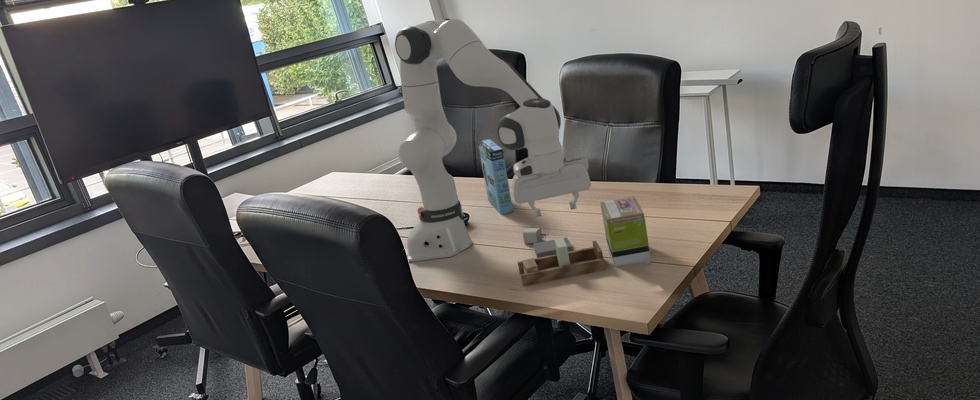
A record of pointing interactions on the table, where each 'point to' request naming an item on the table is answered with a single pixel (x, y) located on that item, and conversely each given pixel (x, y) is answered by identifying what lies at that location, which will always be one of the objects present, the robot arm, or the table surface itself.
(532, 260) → the offcut top
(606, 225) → the tea box
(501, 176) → the blue cardboard box
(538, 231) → the usb wall charger
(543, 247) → the riser
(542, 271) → the rack
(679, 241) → the table surface
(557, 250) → the tall board
